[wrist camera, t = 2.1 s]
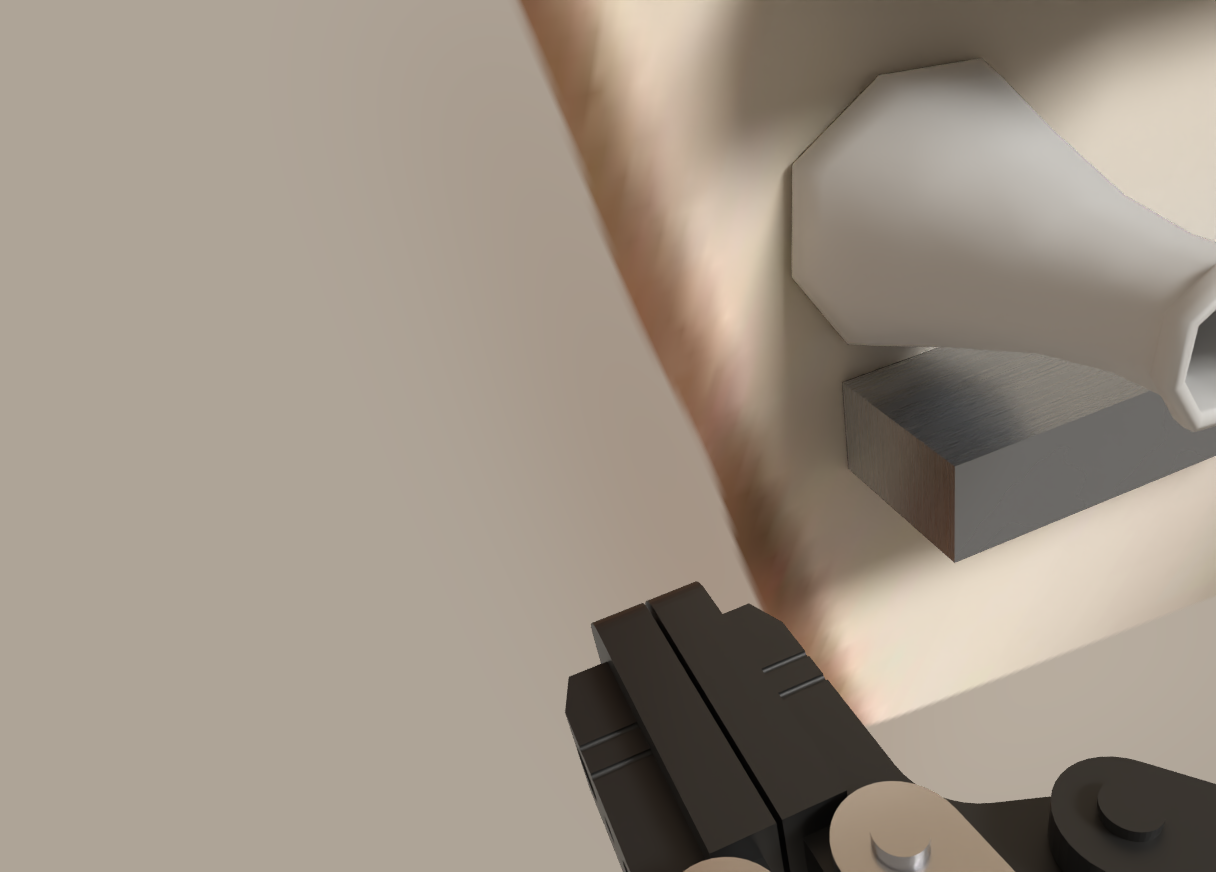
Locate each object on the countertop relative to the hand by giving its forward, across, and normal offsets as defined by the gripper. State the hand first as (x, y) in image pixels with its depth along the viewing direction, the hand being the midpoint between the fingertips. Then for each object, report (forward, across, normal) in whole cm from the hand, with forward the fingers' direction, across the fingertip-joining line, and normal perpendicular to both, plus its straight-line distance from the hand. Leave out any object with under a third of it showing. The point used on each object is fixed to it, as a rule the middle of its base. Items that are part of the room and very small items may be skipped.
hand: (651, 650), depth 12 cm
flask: (+12, -12, 0) cm, 17 cm away
